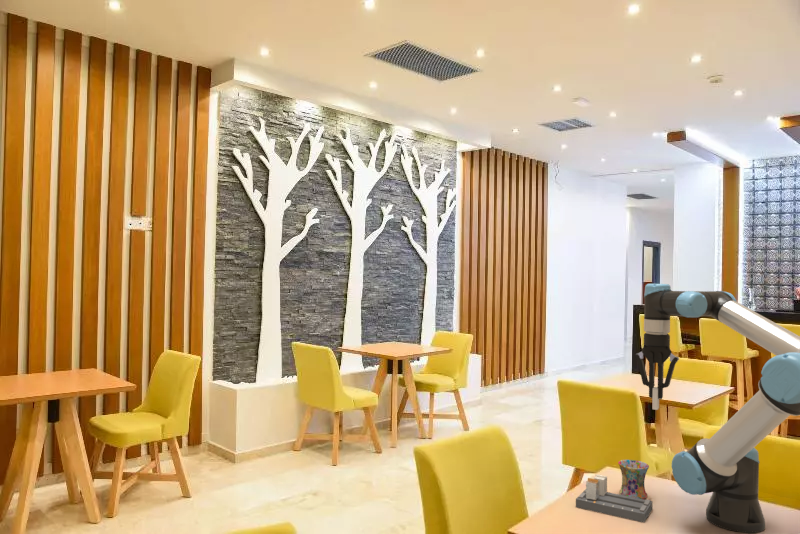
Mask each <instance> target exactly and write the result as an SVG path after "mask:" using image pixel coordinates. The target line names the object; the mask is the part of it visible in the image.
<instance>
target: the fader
mask: <svg viewBox="0 0 800 534" xmlns="http://www.w3.org/2000/svg"><path fill="white" fill-rule="evenodd" d="M585 483H586V485H585V486H586V487H585V489H586V498H587V499H592V500H597V499H598V497H599V493H600V480H596V479H594V478H590V477H588V478H587V481H586V482H585Z"/></svg>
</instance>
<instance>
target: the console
mask: <svg viewBox="0 0 800 534" xmlns="http://www.w3.org/2000/svg"><path fill="white" fill-rule="evenodd" d="M593 479H596V480H600V493H599V497H598V499H597V500H592V499H587V498H586V488H585V489H584V490H583V492H581V493H580V494H579V495H578V496H577V498H575V508H577V509H582V510H587V511H591V512H595V513H600V514H605V515H609V516H612V517H618V518H622V519H626V520H630V521H635V522H640V523H645V522H646V521H647V519H648V518H649V515H650V514H651V512H652V511H653V500H651V499H647V498H645V499H639V498H634V497H629V496H624V495H620V493H615V492H609V491H608V476H606V475H601V474H595V477H594V478H593Z"/></svg>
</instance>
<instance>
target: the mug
mask: <svg viewBox="0 0 800 534" xmlns="http://www.w3.org/2000/svg"><path fill="white" fill-rule="evenodd" d="M618 465H619V468H620V472H621V477H622V479H621V480H622V481H621V487H620V489H619V493H618V494H619V495H624V496H629V497H634V498H639V499H643V500H646V499H647V497H648V494H647V492H646V488H645V480H646V479H645V478H646V474H647V472H648V470H649V468H650V465H649V464H648V463H646V462H644V461H641V460H635V459H621V460H619V461H618Z"/></svg>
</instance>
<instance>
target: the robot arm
mask: <svg viewBox="0 0 800 534" xmlns="http://www.w3.org/2000/svg"><path fill="white" fill-rule="evenodd" d="M671 289H672V288H671V285H670V284H668V283H647V284H645V286H644V294H643V295H644V296H643V298H644V299H643V300H644V301H643V302H644V304H643V305H644V307H643V309H644V310H643V313H644V314H643V315H644V316H643V318H644V319H643V331H644V332H645V333H644V334H643V347H642V348H641V351H640V352H637V353H635V354H634V355H633V356H634V358H635V360H636V361H637V365H638V369H639V373H640V377H641V382H642V385H643V386H647V387H648V397H649V398H650V399H651V401H652V410H655V411H658V410H659V409H660V400H662V399H663V398H664V388H668V387H669V386H671V385H670V384H671V382H672V381H671V380H672V377H673V375H674V374H673V373H674V370H675V366H676V364H677V363H678V361H679V360H680V357H679V356H676V355H674V354H673V353H672V350H671V347H670V346H671V342H670V341H671V335H670V334H669V333H670V332H671V316H677V317H685V318H686V319H687V318H689V319H690V318H700V317H711V318H714V319H715V320H716V321H717V322H719V323H722V324H723V325H725V326H727V327H729V328H730V329H731V330H733V331H734V332H737V334H740V335H742V336H743V337H745V338H747V339H748V340H750V341H751V342H753V343H754V344H756V345H758V346H760V347H762V348H763V349H765V350H766V351H768V352H769V353H771V354H773V355H774V356H773V357H771V358H769V359H768V360H767V361H766V362H765V363H764V365H763V367H762V368H761V369H762V370H761V372H760V374H761V377H760V380H758V384H757V385H758V389H759V390H758V391H757V392H755V394H754V395H752V397H751V398H750V399H749V400H748V401H747V402H745V403H744V405H743V406H742V407H741V408H740V409H739V410H738V411H736V412H735V414H733V415H732V416H731V417H730V418H729V419H728V420H727V422H725V423H724V424H723V425H722V426H721V427H720V428H719V429H718V430H717V431H716V432H715V433H714V434H713V435H712V436H711V437H710V438H701V439H700V440H698V441H697V442H696V443H695V444H694V445H693V446H692V447H690V449H689V450H686V451H685V450H682V451H679V452H677V453H676V454H675V455H674V456H673V457H672V460H671V469H672V470H671V471H672V476H673V478H674V480H675V482H676V483H677V485H678V487H679V488H681V490H682V491H683V492H685V493H687V494H689V495H692V496H693V495H694V496H695V495H700V496H702V495H705V494H710V493H712V494H711V496H710V498H709V501H708V504H707V506H706V510H705V518H706V520H707V521H708V522H709V523H711V524H713V525H715V526H717V527H720V528H721V529H726V530H727V531H732V532H739V533H751V534H752V533H760V532H763V531H764V530H765V529H766V520H765V517H764V514H763V510H762V506H761V504H760V501H759V480H760V478H759V476H760V475H759V470H760V469H759V468H760V460H759V451H758V449H756V447H757V445H759V444H760V442H762V441H763V440H764V439H766V437H768V435H770V433H772V432H774V430H775V429H777V428H778V427H779V426H780V425H781V424H782V423H783V422H784V421H786V419H788V418H789V417H790V416H793V417H795V416H796V417H797V416H800V335H798V334H796V333H794V332H793V331H791V330H789V329H787V328H785V327H784V326H782V325H780V324H778V323H776V322H775V321H772V320H771V319H769V318H767V317H765V316H764V315H762V314H760V313H758V312H756V311H754V310H753V309H750V308H749V307H747V306H745V305H743V304H742V303H739V302H738V301H737V299H736V298H735V296H734V295H733V294H732V293H731V292H727V291H724V290H713V291H711V290H710V291H709V290H707V291H699V290H697V291H694V290H691V291H690V290H688V291H687V290H686V291H685V290H671ZM644 358H646V360H647V362H648V374H647V370H646V367H645V362H644ZM668 359H669V362H670V363H669V366H668V369H667V373H666V377H665V381H664V366H665V362H667V360H668ZM656 364H657V386H656V384H655V379H656V378H655V368H656V366H655V365H656ZM647 375H648V376H647Z"/></svg>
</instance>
